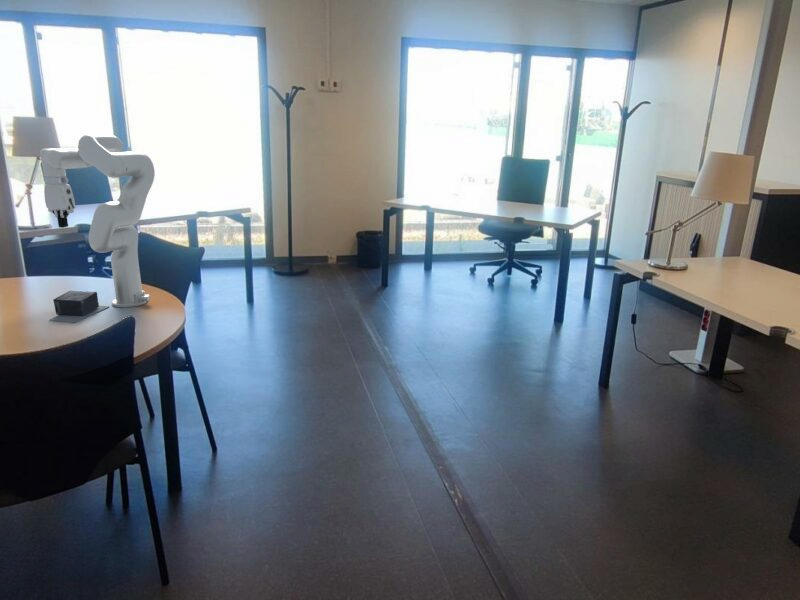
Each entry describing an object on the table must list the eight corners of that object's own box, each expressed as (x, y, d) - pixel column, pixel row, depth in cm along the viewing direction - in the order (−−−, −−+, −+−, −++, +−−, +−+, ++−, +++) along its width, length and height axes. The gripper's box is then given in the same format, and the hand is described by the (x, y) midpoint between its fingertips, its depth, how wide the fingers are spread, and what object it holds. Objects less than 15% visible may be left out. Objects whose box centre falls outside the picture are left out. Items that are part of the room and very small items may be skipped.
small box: (55, 316, 200) (83, 317, 200) (52, 299, 198) (80, 300, 197) (73, 306, 210) (99, 307, 209) (70, 290, 208) (97, 291, 207)
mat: (109, 307, 211) (109, 306, 211) (74, 323, 194) (74, 322, 194) (85, 305, 213) (85, 304, 213) (48, 320, 196) (48, 319, 196)
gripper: (79, 180, 218) (86, 226, 224) (47, 179, 221) (54, 224, 226) (65, 182, 211) (73, 229, 217) (31, 181, 213) (40, 227, 219)
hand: (63, 226), depth 221 cm, fingers closed
